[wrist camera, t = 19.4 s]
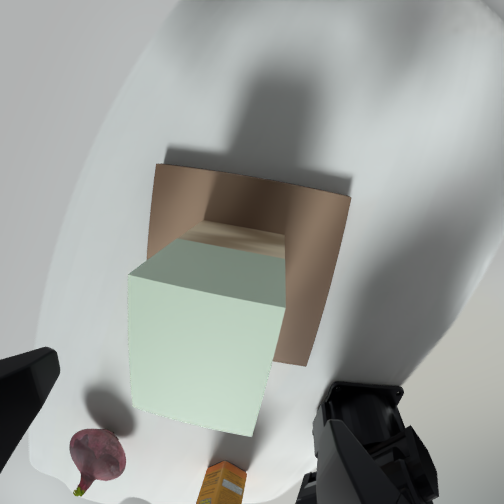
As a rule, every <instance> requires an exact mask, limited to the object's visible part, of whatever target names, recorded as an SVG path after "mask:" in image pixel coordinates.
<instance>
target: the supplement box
mask: <svg viewBox="0 0 504 504" xmlns="http://www.w3.org/2000/svg"><path fill="white" fill-rule="evenodd" d="M246 477H247V473H246V472H245V471H243V470H241V469H240V468H238V467H236V466H235V465H233V464H231V463H229V462H228V461H223V462H220V463H218V464H216V465H214V466H212V467H209V468H207V471H206V474H205V477H204V480H203V484H202V487H201V490H200V493H199V496H198V499H197V502H196V504H241V503H242V498H243V493H244V487H245V482H246Z"/></svg>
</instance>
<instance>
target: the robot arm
mask: <svg viewBox="0 0 504 504" xmlns="http://www.w3.org/2000/svg"><path fill="white" fill-rule="evenodd" d="M59 374H60V365H59V360H58V355H57V352H56V351H55V350H54V349H51V348H49V347H43V348H39V349H36V350H33V351H29V352H26V353H23V354H19V355H15V356H12V357H9V358H5V359H1V360H0V473H1V471H2V470H3V468H4V466H5V464H6V463H7V461H8V460H9V458H10V456H11V455H12V453H13V451H14V450H15V448H16V446H17V445H18V443H19V442H20V440H21V439H22V437H23V435H24V434H25V432H26V431H27V429H28V428H29V426H30V425H31V423H32V422H33V420H34V419H35V417H36V415H37V414H38V412H39V411H40V409H41V408H42V406H43V404H44V403H45V401H46V399H47V397H48V395H49V393H50V391H51V389H52V388H53V386H54V384H55V382H56V380H57V378H58V376H59ZM337 387H340V388H338V389H336V388H337ZM397 392H398V393H397ZM403 394H404V391H403V388H402V387H399V386H383V385H370V384H358V383H348V382H335V383H333V385H332V386H331V389H330V391H329V394H328V396H327V398H326V401H325V402H323V403H322V404H321V405H320V407H319V410H318V412H317V414H316V417H315V419H314V421H313V430H312V433H313V436H314V448H315V456H316V458H318V461H317V471H316V472H313V473H312V472H310V473H308V474H305V475H304V478H303V482H302V485H301V488H300V491H299V494H298V497H297V500H296V503H295V504H433V501H432V500H433V499H435V498H437V497H439V490H438V478H437V471H436V468H435V466H434V464H433V461H432V459H431V457H430V454H429V452H428V450H427V448H426V447H425V445H424V444H423V442H422V441H421V440H420V438H419V437H418V435H417V434H416V432H415V431H414V429H413V428H412V426H411V425H410V426H409V427H407V428H405V426H404V423H403V421H402V418H401V416H400V413H399V410H398V408H397V405H398V403H399V401H400V400H401V398H402V396H403Z"/></svg>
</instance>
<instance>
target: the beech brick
mask: <svg viewBox="0 0 504 504" xmlns="http://www.w3.org/2000/svg"><path fill="white" fill-rule="evenodd" d="M178 239H183V240H188V241H194V242H199V243H204V244H209V245H215V246H220V247H225V248H230V249H236V250H241V251H246V252H251V253H257V254H262V255H267V256H272V257H278V258H283V259H285V235H282V234H277V233H271V232H266V231H261V230H255V229H250V228H245V227H239V226H234V225H228V224H223V223H217V222H211V221H206V220H203V221H201V222H200V223H198V224H197V225H196V226H194V227H193V228H191V229H190V230H189V231H187V232H186V233H184V234H183V235H182V236H180V237H179V238H178Z"/></svg>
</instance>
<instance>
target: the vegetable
mask: <svg viewBox="0 0 504 504" xmlns="http://www.w3.org/2000/svg"><path fill="white" fill-rule="evenodd" d="M118 440H119V439H118V438H117V437H116V435H114V432H113V433H112V432H111V431H109V430H106V429H84V430H81V431H79V432H77V433H76V434H74V435H73V437H72V438H71V441H70V454H71V457H72V459H73V461H74V463H75V465H76V466H77V468H78V470H79V471H80V473H81V481H80V484H79V485H78V487H77V490H74V492H75V493H76V494H75V493H74V492H73V494H74V495H75V496H82V495H83V494H84V493H85V492H86V490H87V489H88V488H89V487H90V486H91V484H92V483H93V481H94V480H96V479H97V480H103V481H108V480H112V479H115V478H117V477H119V476H120V475H121V474H122V473H123V471H124V469H125V466H126V457H125V453H124V450H123V448H122V446H121V444H120V442H119V441H118Z"/></svg>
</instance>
